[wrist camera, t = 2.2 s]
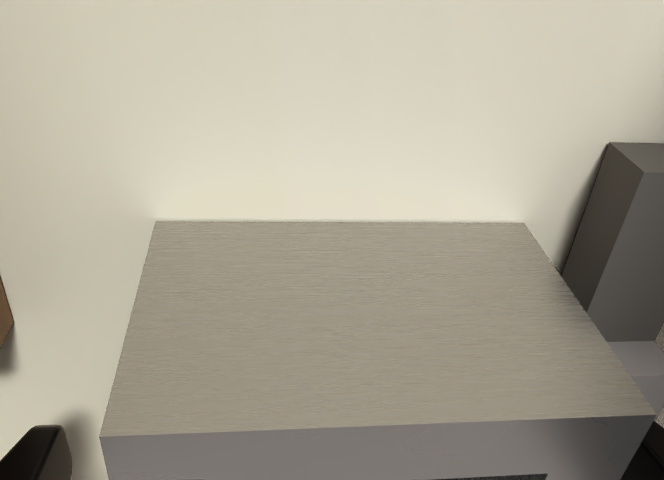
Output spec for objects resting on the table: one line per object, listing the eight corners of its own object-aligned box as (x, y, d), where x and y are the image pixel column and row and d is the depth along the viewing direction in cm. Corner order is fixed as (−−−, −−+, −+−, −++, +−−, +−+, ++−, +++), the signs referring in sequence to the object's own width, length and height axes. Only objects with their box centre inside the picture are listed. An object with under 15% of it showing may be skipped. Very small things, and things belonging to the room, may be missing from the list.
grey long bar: (697, 144, 9) (779, 201, 8) (543, 483, 14) (576, 558, 13) (609, 142, 9) (676, 201, 8) (484, 486, 14) (511, 562, 13)
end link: (524, 223, 10) (656, 413, 7) (456, 449, 13) (522, 651, 10) (155, 221, 9) (99, 436, 6) (182, 462, 12) (155, 685, 9)
